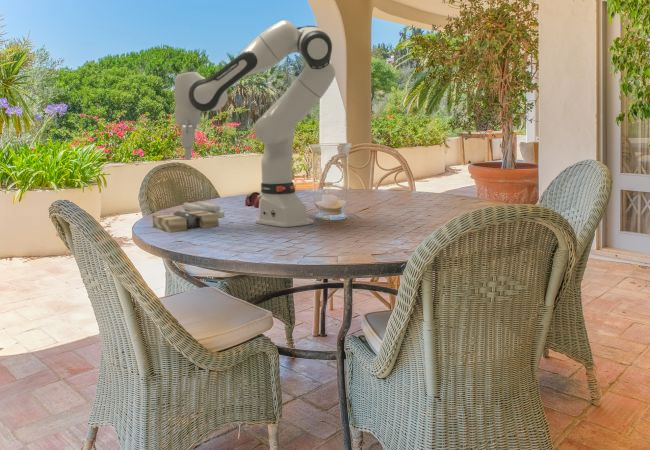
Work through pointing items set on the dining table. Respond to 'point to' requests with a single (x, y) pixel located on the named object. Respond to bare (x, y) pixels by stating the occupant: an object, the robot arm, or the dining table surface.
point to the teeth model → (253, 199)
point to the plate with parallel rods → (203, 208)
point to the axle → (188, 219)
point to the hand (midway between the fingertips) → (188, 158)
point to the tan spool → (184, 221)
